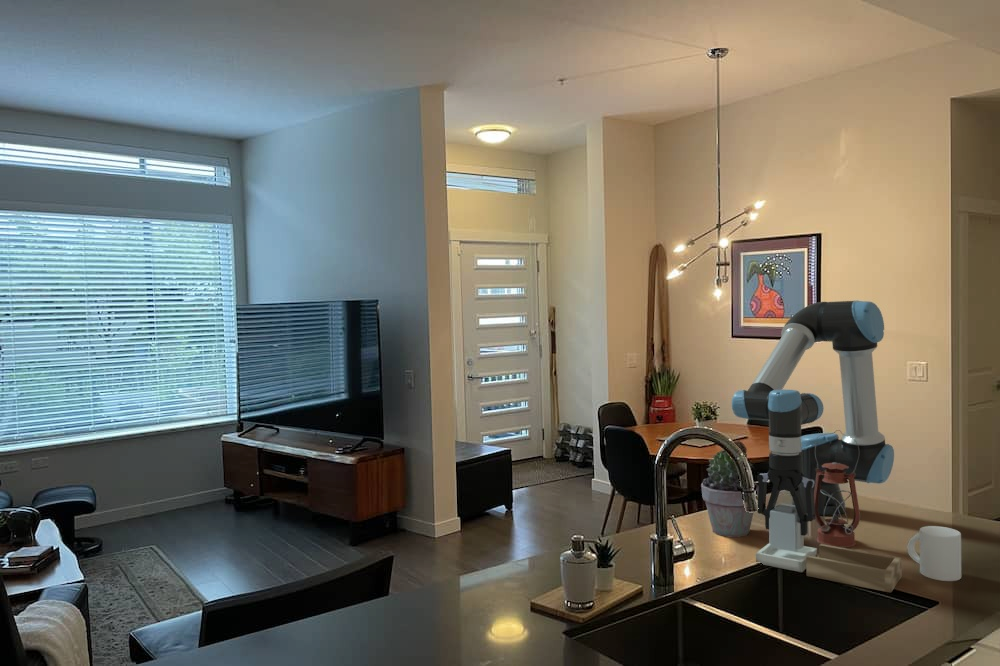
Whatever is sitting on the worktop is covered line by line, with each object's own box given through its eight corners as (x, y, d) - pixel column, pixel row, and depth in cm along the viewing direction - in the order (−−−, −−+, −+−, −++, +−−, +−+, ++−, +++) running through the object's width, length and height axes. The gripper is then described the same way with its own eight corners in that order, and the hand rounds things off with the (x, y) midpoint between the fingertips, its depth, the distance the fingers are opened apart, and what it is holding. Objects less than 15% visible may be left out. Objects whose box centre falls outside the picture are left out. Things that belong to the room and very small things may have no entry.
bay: (820, 562, 181) (820, 543, 181) (901, 577, 170) (901, 557, 170) (806, 575, 173) (806, 556, 172) (890, 592, 161) (890, 572, 161)
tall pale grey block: (778, 540, 187) (777, 501, 187) (803, 544, 183) (802, 505, 183) (770, 547, 183) (769, 507, 182) (795, 551, 179) (794, 510, 178)
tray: (772, 550, 191) (772, 540, 191) (817, 558, 184) (816, 548, 184) (756, 563, 182) (755, 553, 182) (802, 572, 175) (802, 561, 175)
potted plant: (694, 541, 200) (693, 449, 199) (698, 520, 219) (697, 437, 218) (765, 546, 194) (763, 452, 193) (763, 524, 213) (762, 439, 212)
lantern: (848, 535, 201) (847, 426, 200) (863, 548, 191) (861, 433, 190) (811, 535, 202) (809, 427, 201) (824, 548, 192) (822, 433, 191)
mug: (945, 538, 165) (897, 525, 176) (946, 584, 165) (897, 567, 176) (969, 532, 169) (919, 519, 179) (969, 577, 169) (920, 561, 180)
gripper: (741, 451, 185) (743, 542, 186) (821, 459, 173) (822, 556, 174) (752, 446, 191) (753, 534, 192) (830, 454, 179) (831, 548, 180)
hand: (786, 545), depth 183 cm, fingers closed on tall pale grey block, 6 cm apart
